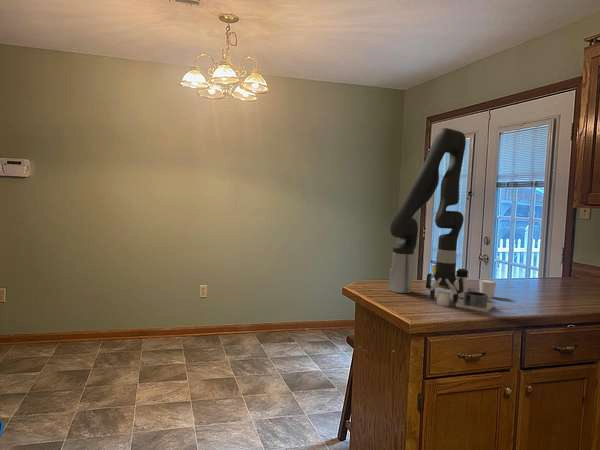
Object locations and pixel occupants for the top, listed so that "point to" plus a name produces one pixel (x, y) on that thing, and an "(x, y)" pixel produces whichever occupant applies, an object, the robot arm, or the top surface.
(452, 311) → the top surface
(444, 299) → the cap
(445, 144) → the robot arm
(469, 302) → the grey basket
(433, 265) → the plant pot
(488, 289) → the white cylinder
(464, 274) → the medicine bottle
